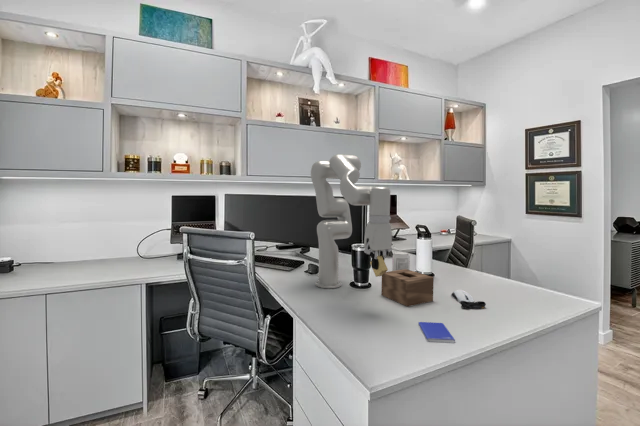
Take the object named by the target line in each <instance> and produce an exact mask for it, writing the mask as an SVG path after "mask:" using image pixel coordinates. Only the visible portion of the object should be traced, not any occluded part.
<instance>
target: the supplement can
mask: <svg viewBox="0 0 640 426" xmlns="http://www.w3.org/2000/svg"><path fill="white" fill-rule="evenodd" d="M410 259H411V257H410V254H409V252H406V251H394V252H393V254H392V267H391V268H392V269H391V271H396V270H403V269H407V270H410V269H411V268H410V266H411V265H410V264H411V263H410V262H411V260H410Z"/></svg>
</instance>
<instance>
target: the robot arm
mask: <svg viewBox="0 0 640 426" xmlns="http://www.w3.org/2000/svg"><path fill="white" fill-rule="evenodd" d="M361 167H362V163H361V160H360V158H359V157H358V156H356V155H354V154H353V155H352V154H341V153H339V154H338V153H337V154H333V156H331V157H330V159H329V160H317V161H315V162H313V164H312V166H311V167H310V168H311V169H310V179H311V182H312V185H313V188H314V192H315V199H316V207H317V208H316V209H317V212H318V215H319V217H321V218H337V219H325V220H321V221H320V222H318V224H317V225H316V235H317V240H318V274H317V275H316V276H317V278H318V280H317V281H315V286H316V287H318V288H320V289H337V288H340V287H342V285H343V284H342V282H341V280H339V260H340V259H339V256H340V255H339V254H340V253H339V247H338V244H337V243H336V241H335V240H343V239H344V240H345V239H349V238H350V237H351V236H352V235H353V234H352V233H353V224H352V216H351V209H350V205H351V206H369V208H368V209H369V210H368V211H369V212H368V223H367V224H366V227H365V230H364V232H365V233H364V240H363V248H364V251H363V252H364V254H366V255H369V257H370V259H371V261H372V266H371V268H373V269H376V270H378V259H377V256H382V257H383V260H384V261H385V259H386V258H387V255H388V254H389V253H390V252H392V251H393V247H392V244H393V234H392V225H391V223H390V221H391V220H392V217H391V216H390V215H391V213H390V211H391V189H390V187H388V186H373V185H371V186H370V185H355V184H356V183H357V182H358V181H359V179H360V174H361V173H360V170H361ZM328 179H331V180H340V182H339V192H340V194H341V196H342V197H343V198H342V197H335V196H334V190H333V188H332V187H333V186H331V184H330V183H329V181H328ZM373 269H372V270H373Z"/></svg>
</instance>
